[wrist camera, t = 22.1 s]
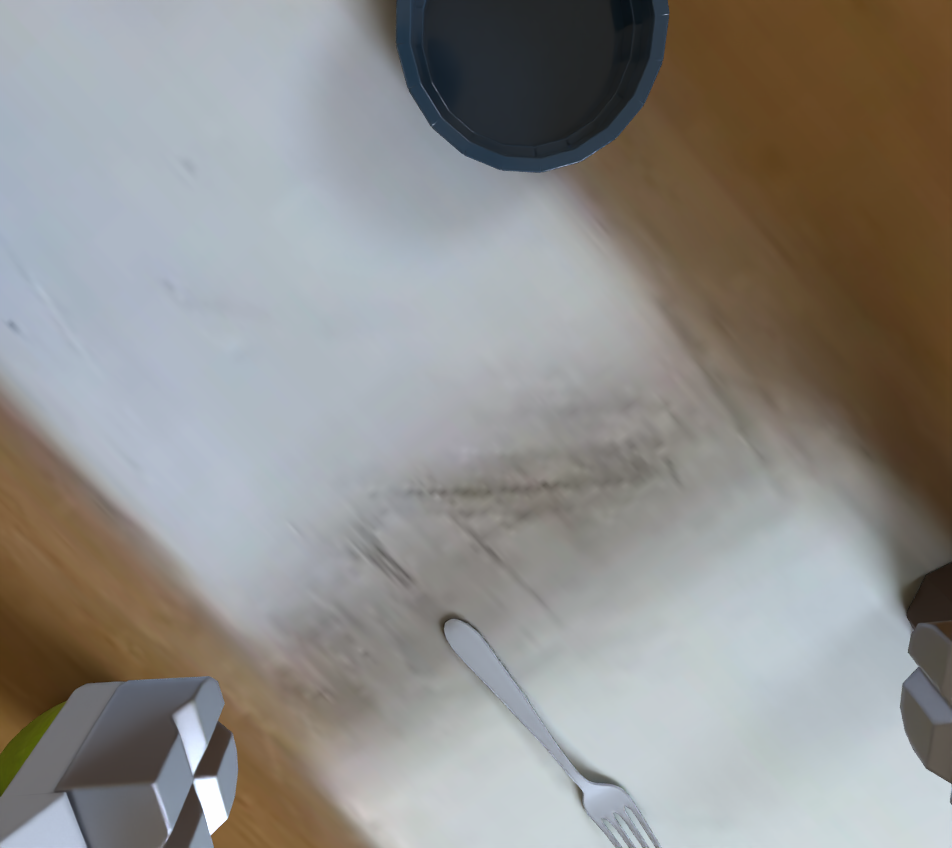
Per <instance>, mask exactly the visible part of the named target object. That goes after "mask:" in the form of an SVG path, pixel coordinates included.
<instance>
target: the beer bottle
mask: <svg viewBox="0 0 952 848" xmlns="http://www.w3.org/2000/svg"><path fill="white" fill-rule="evenodd" d="M907 618H908V620H909V621H910V623H911V625H912V627H913V629H915V628H916V626H917V625H918V623H928V622H940V621H952V563H950V564H948V565H946V566H944V567H942V568H939V569H937V570H935V571H933V572H931V573H929V574H927V575H926V576H925V578H924V580H923V582H922V584H921V586H920V588H919V590H918V592H917V594H916V596H915V598H914V600H913V602H912V603H911V605H910V607H909V609H908V611H907Z"/></svg>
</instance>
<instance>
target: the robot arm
mask: <svg viewBox="0 0 952 848" xmlns="http://www.w3.org/2000/svg"><path fill="white" fill-rule="evenodd" d="M908 653H909V654H910V656H911V657H912V658H913V660H914V661H915V662H916V664H917V665H918V666H919V667H918V668H917V669H916V670H915V671H914V672H913V673H912V674H911V675H910V676H909V677H908V678H907V679H906V680H905V682H904V683H903V686H902V694H901V703H900V709H901V714H902V719H903V724H904V729H905V733H906V735H907V737H908V739H909V741H910V744H911V746H912V748H913V750H914V752H915V753H916V755H917V756H918V757H919V759H920V760H921V762H922V763H923V765H924V766H925V768H926V769H928V770H929V771H931V772H933V773H934V774H936V775H938V776H939V777H941V778H943V779H944V780H946V781H948V782H949V783H951V784H952V621H940V622H928V623H918V625H917V626H916V628H915V629H914V631H913V632H912V634H911V638H910V643H909V649H908ZM224 704H225V703H224V700H223V696H222V693H221V690H220V687H219V683H218V681H217V680H215V679H213V678H212V677H210V676H206V677H187V678H168V679H148V680H129V681H127V682H104V683H87V684H85V685H83V686H81V687H79V688H77V689H76V690H74V692H73V693H72V694H71V696H70V697H69V699H68V700H67V701H66V703H65V704H64V706H63V707H62V709H61V710H60V712H59V713H58V714H57V716H56V717H55V719H54V720H53V722H52V723H51V725H50V726H49V728H48V729H47V730H46V732H45V733H44V735H43V736H42V738H41V739H40V741H39V742H38V743H37V745H36V746H35V748H34V749H33V751H32V752H31V754H30V755H29V757H28V758H27V759H26V761H25V762H24V764H23V765H22V767H21V768H20V770H19V771H18V772H17V774H16V775H15V777H14V778H13V780H12V781H11V783H10V784H9V785H8V787H7V788H6V790H5V791H4V793H3V794H2V796H1V797H0V848H214V846H213V843H212V839H211V836H210V835H211V834H212V833H213V832H214V831H215V830H216V829H217V828H218V827H219V826H220V825H221V824H222V823H224V822H225V821H226V820H227V819H228V816H229V813H230V810H231V807H232V804H233V800H234V797H235V791H236V783H237V774H238V762H237V749H236V745H235V741H234V737H233V733H232V732H231V731H230V730H228V729H227V728H226V727H225V726H224V725H222V724H221V723H220V722H219V721H218V719H219V716H220V714H221V711H222V709H223V706H224ZM950 803H951V804H952V788H951V796H950Z"/></svg>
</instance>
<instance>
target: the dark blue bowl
mask: <svg viewBox="0 0 952 848" xmlns="http://www.w3.org/2000/svg"><path fill="white" fill-rule="evenodd" d="M668 21H669V6H668V0H396V47H397V51H398V55H399V58H400V62H401V66H402V69H403V73H404V77H405V80H406V84H407V88H408V89H409V92H410V94H411V95H412V97H413V98H414V100H415V102H416V103H417V105H418V106H419V108H420V110H421V111H422V113H423V115H424V116H425V118H426V119H427V121H428V123H429V124H430V126H432V128H433V129H434V130H435V131H436V132H437V133H439V134H440V135H441V136H442V137H443V138H444V139H446V140H447V141H448V142H449V143H450V144H451V145H452V146H454V147H455V148H456V149H457V150H458V151H459V152H461V153H462V154H464V155H465V156H467V157H470V158H472V159H474V160H477V161H479V162H482V163H484V164H487V165H489V166H491V167H494V168H496V169H499V170H503V171H519V172H535V173H540V172H546V171H550V170H553V169H557V168H561V167H564V166H568V165H572V164H575V163H579V162H580V161H583V160H584V159H586V158H587V157H589V156H591V155H592V154H594V153H595V152H597V151H598V150H600V149H601V148H603V147H604V146H606V145H607V144H609V143H610V142H612V141H613V140H615V138H617V137H618V136H619V135H620V133H621V132H622V131H623V130H624V128H625V127H626V126H627V125H628V124H629V122H630V121H631V120H632V119H633V118H634V116H635V115H636V114H637V113H638V112H639V110H640V109H641V108H642V107H643V106H644V103H645V102H646V100H647V97H648V95H649V93H650V90H651V88H652V86H653V83H654V81H655V79H656V77H657V74H658V72H659V70H660V67H661V65H662V61H663V58H664V50H665V43H666V36H667V28H668Z"/></svg>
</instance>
